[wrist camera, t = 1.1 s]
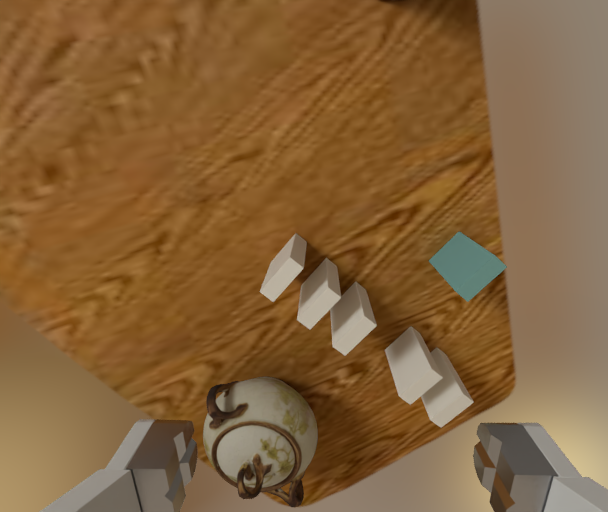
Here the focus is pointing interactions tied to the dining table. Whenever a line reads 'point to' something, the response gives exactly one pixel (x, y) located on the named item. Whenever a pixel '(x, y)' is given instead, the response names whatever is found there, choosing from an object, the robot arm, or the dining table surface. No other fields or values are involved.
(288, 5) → the dining table surface
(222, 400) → the sugar bowl
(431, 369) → the domino
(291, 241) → the domino
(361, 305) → the domino
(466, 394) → the domino
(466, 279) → the teal rectangular block
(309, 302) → the domino
